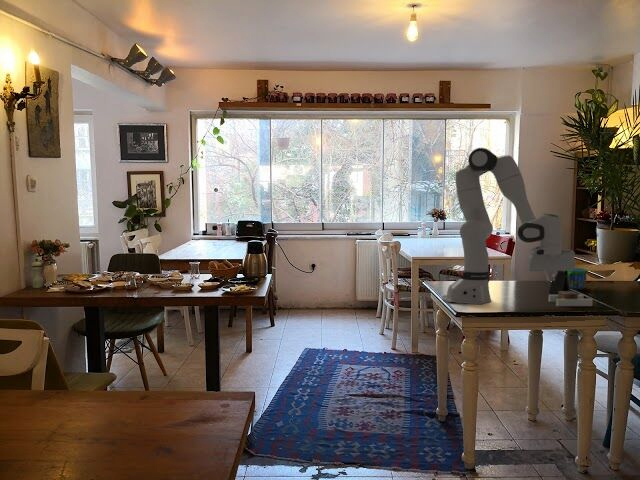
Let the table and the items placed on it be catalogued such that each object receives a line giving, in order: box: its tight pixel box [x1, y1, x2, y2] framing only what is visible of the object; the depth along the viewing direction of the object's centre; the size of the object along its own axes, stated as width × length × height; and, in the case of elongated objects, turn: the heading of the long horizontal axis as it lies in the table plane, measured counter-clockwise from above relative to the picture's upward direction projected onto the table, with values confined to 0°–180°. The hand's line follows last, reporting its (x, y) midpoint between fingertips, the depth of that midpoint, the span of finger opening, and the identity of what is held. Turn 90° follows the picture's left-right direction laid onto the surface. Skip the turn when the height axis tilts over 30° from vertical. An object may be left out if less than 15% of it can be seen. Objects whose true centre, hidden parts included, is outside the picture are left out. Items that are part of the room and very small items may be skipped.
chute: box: [548, 294, 594, 307], centre depth 229 cm, size 15×10×4 cm, turn 87°
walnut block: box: [557, 290, 579, 299], centre depth 229 cm, size 6×6×5 cm
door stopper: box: [548, 270, 571, 295], centre depth 256 cm, size 9×6×12 cm, turn 122°
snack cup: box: [567, 267, 588, 290], centre depth 267 cm, size 16×10×10 cm
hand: (550, 280), depth 228 cm, fingers closed
